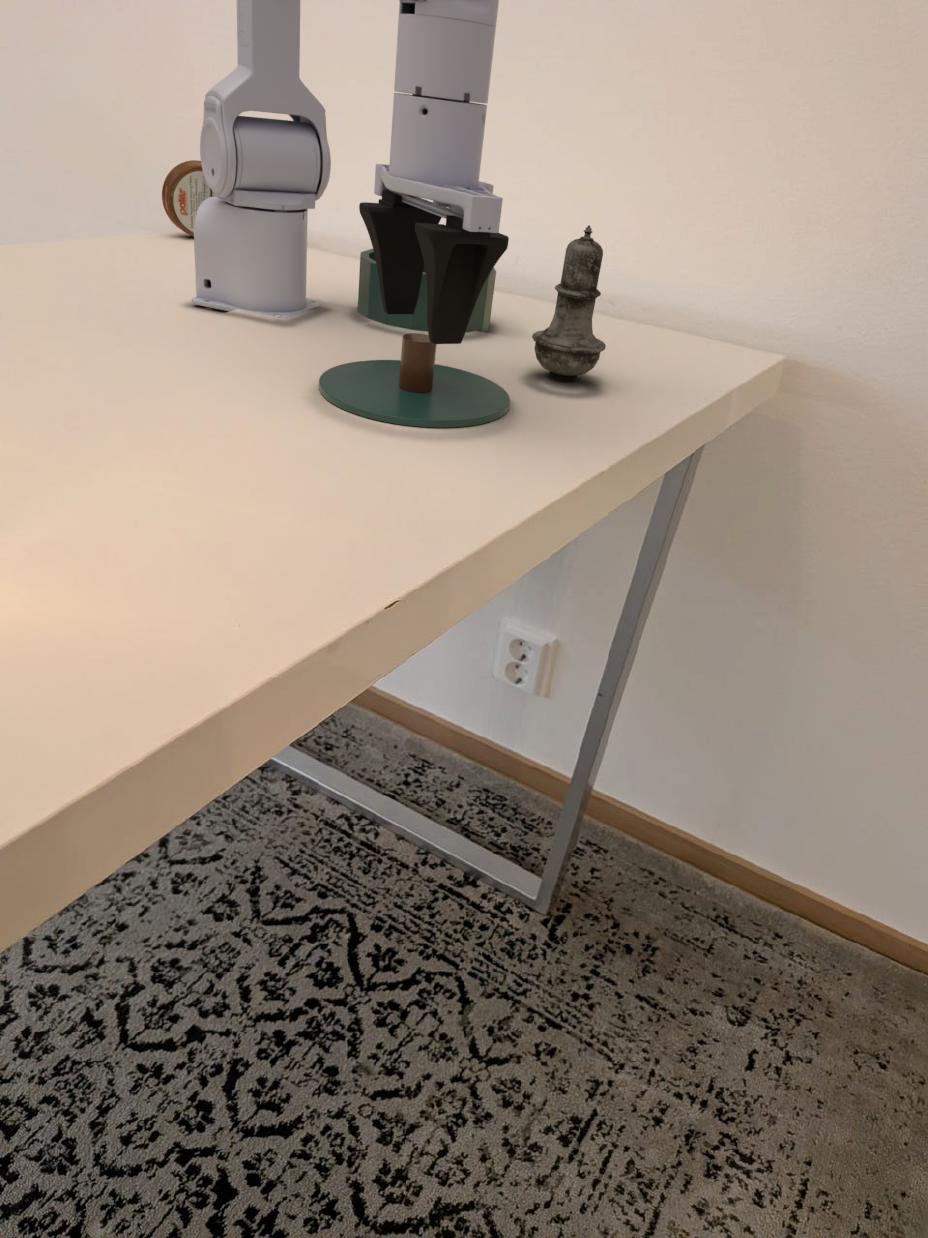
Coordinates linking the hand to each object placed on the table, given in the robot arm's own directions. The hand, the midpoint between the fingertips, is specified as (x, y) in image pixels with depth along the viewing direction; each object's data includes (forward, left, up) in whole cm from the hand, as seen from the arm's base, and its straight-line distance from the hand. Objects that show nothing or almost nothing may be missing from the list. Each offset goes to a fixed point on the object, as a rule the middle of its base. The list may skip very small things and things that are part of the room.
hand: (421, 327), depth 60 cm
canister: (-8, +24, -5) cm, 26 cm away
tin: (-42, +46, -6) cm, 63 cm away
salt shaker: (+8, +12, -6) cm, 16 cm away
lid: (0, 0, -5) cm, 5 cm away
